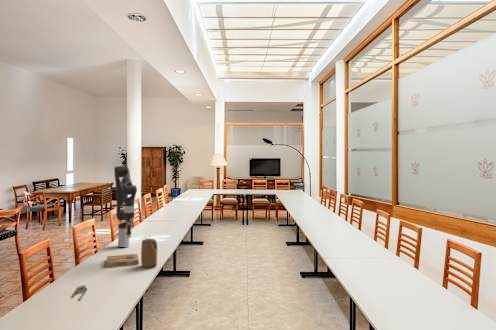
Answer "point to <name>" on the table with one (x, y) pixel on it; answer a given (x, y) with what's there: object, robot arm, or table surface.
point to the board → (122, 260)
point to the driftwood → (80, 291)
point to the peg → (126, 232)
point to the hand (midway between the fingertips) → (128, 233)
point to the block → (149, 253)
